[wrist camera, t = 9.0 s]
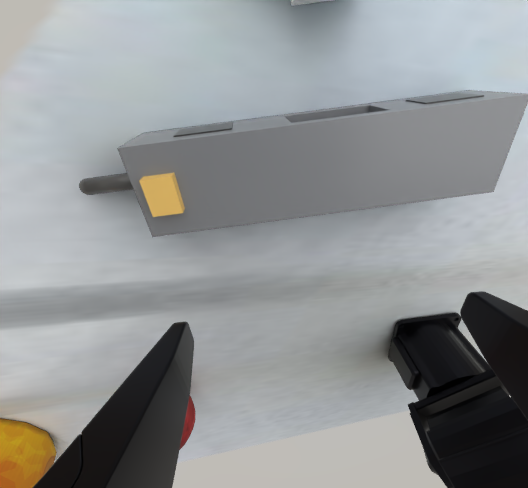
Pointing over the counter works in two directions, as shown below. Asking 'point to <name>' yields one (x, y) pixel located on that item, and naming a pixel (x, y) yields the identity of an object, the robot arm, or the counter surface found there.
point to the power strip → (318, 161)
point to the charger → (306, 1)
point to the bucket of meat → (24, 454)
